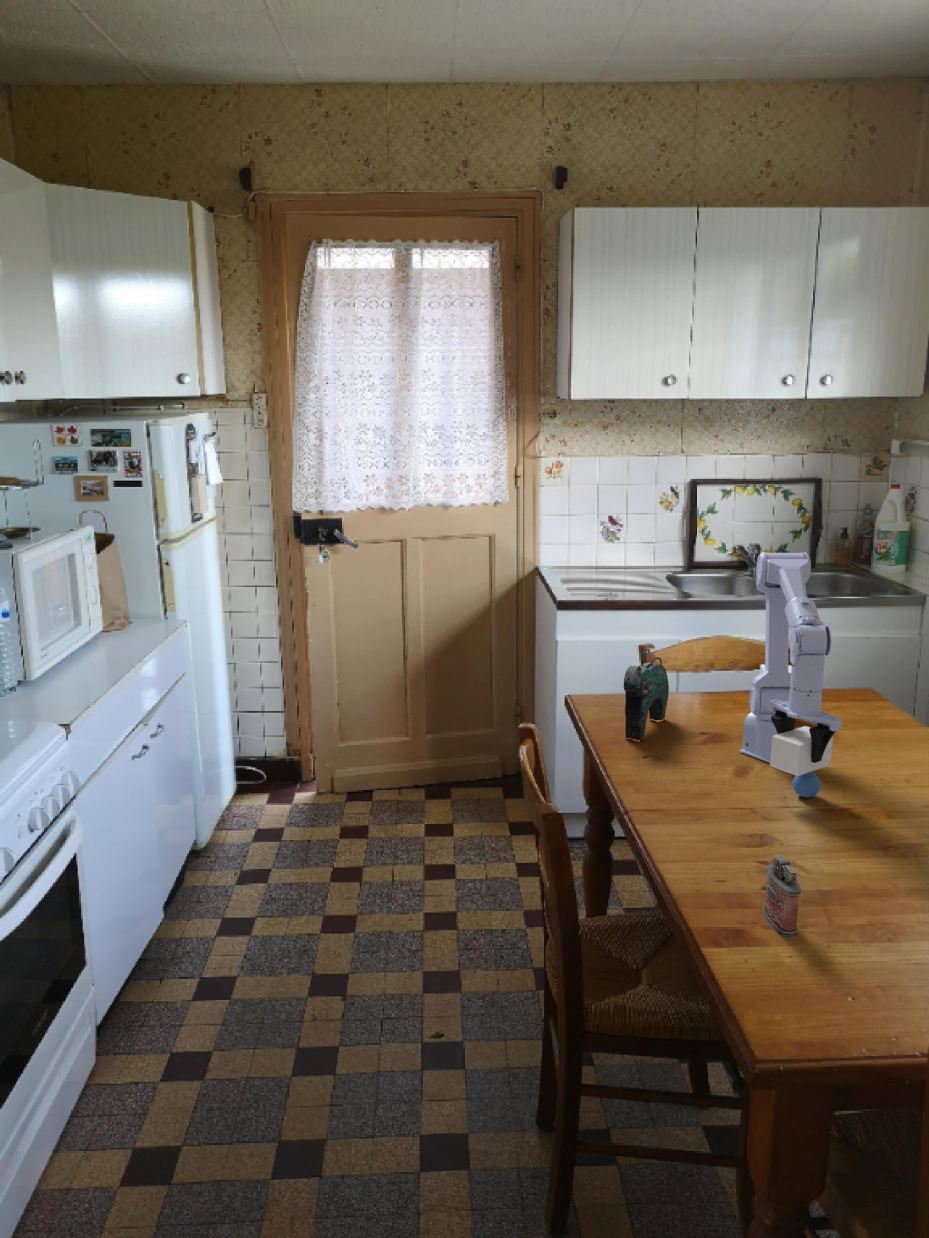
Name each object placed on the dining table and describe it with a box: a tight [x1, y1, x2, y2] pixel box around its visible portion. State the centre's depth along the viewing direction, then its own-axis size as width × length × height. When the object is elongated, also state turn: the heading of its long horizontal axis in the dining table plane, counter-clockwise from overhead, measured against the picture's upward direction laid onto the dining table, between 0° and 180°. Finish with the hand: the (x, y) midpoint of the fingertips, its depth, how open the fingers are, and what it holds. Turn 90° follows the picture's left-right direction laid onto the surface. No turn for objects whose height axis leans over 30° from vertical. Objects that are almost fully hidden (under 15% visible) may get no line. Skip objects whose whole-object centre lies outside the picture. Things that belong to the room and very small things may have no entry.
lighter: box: [762, 854, 802, 939], centre depth 139 cm, size 8×3×10 cm, turn 5°
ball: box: [792, 771, 821, 799], centre depth 183 cm, size 5×5×5 cm
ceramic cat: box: [623, 648, 670, 741], centre depth 219 cm, size 20×6×20 cm, turn 148°
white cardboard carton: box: [769, 725, 834, 777], centre depth 181 cm, size 10×6×6 cm, turn 124°
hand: (800, 755), depth 181 cm, fingers closed on white cardboard carton, 6 cm apart
